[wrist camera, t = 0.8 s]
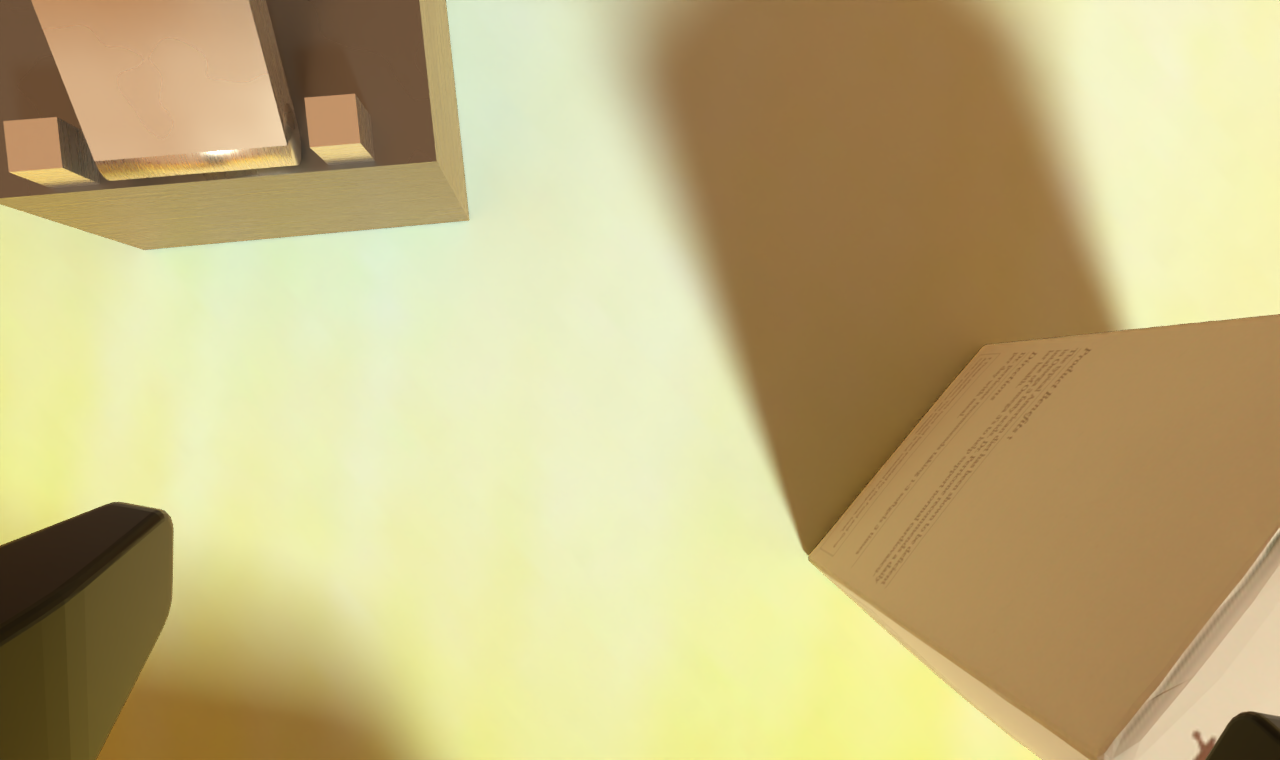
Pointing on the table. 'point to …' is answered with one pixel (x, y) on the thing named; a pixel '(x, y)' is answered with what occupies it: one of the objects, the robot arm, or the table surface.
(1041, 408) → the supplement box
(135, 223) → the dark grey box
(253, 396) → the table surface
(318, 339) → the table surface
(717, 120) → the table surface
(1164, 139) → the table surface
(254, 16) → the tan flat block
